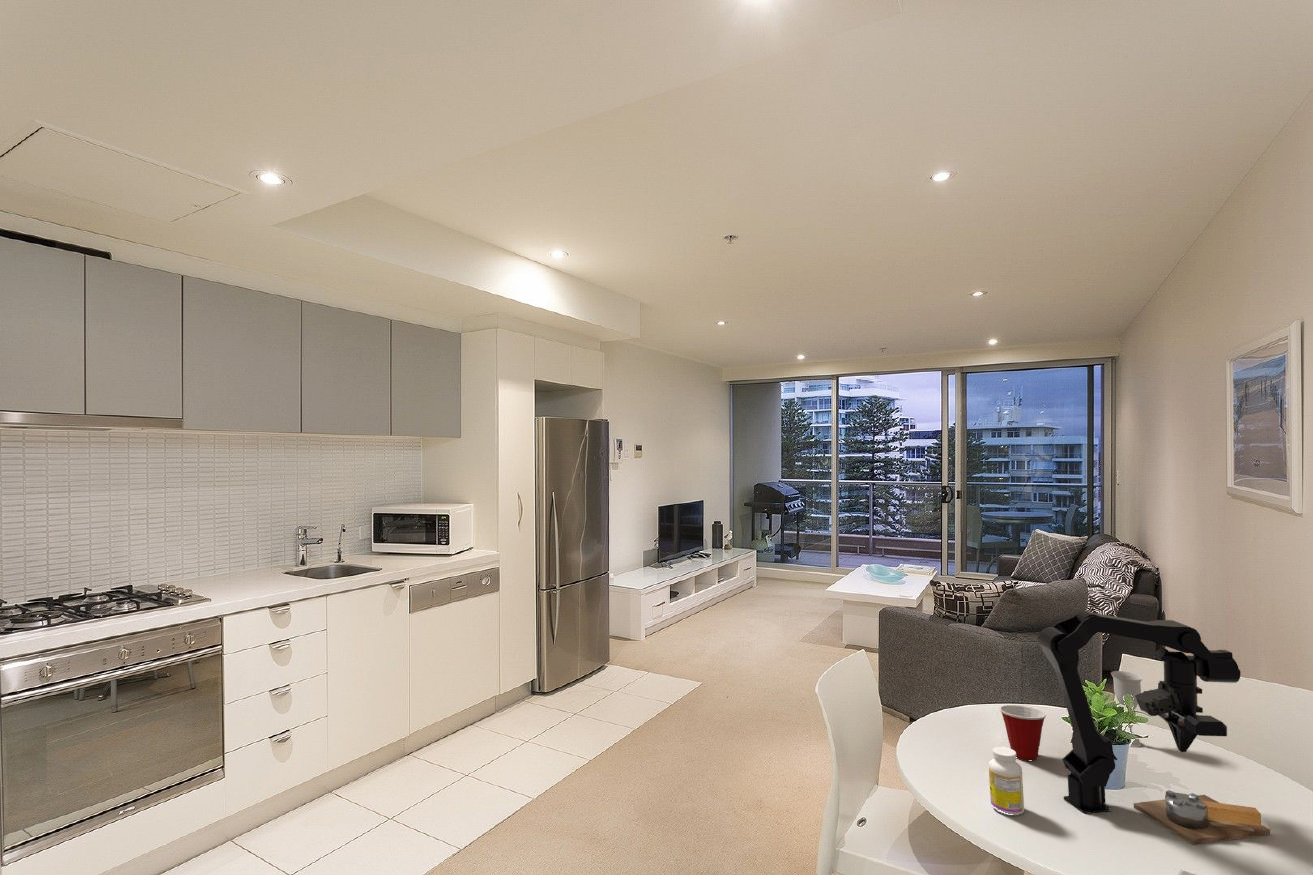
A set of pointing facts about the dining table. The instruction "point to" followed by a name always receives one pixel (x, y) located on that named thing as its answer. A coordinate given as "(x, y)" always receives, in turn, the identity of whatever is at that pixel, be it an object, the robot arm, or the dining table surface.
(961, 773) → the dining table surface
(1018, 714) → the plastic cup
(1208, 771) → the dining table surface
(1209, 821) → the base plate
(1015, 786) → the supplement bottle
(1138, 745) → the chalice
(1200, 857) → the dining table surface
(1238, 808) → the wood-handled metal tool
